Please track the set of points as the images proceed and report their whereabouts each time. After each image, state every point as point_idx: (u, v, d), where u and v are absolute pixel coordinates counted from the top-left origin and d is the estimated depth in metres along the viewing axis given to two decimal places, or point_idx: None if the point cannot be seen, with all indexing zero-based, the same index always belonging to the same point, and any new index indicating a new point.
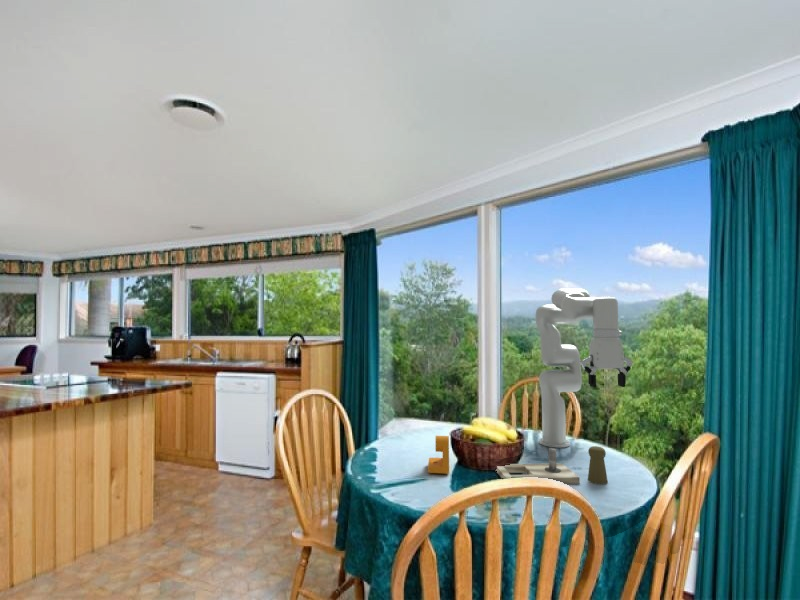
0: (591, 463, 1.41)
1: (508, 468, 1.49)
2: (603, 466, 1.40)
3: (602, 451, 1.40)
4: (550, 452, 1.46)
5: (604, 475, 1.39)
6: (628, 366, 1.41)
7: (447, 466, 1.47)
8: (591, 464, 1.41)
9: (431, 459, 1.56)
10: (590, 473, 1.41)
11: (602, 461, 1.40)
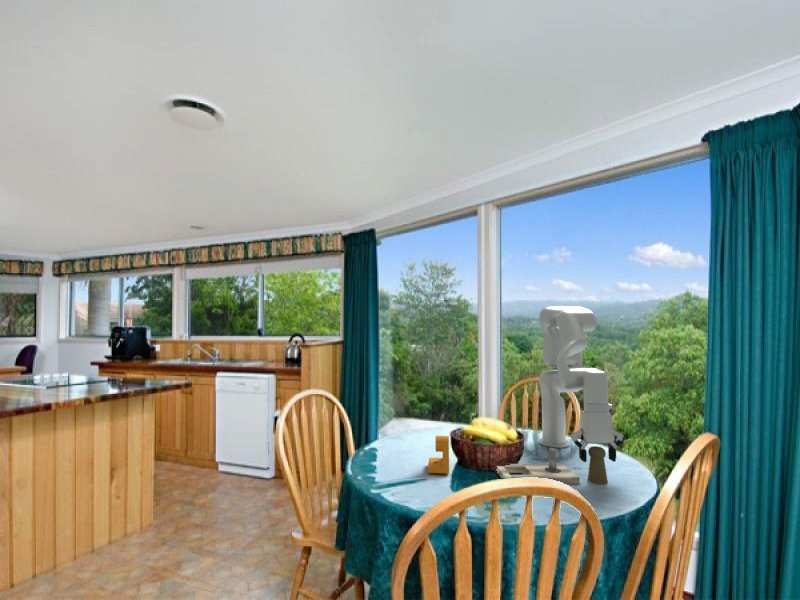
0: (591, 463, 1.41)
1: (508, 468, 1.49)
2: (603, 466, 1.40)
3: (602, 451, 1.40)
4: (550, 452, 1.46)
5: (604, 475, 1.39)
6: (618, 440, 1.42)
7: (447, 466, 1.47)
8: (591, 464, 1.41)
9: (431, 459, 1.56)
10: (590, 473, 1.41)
11: (602, 461, 1.40)
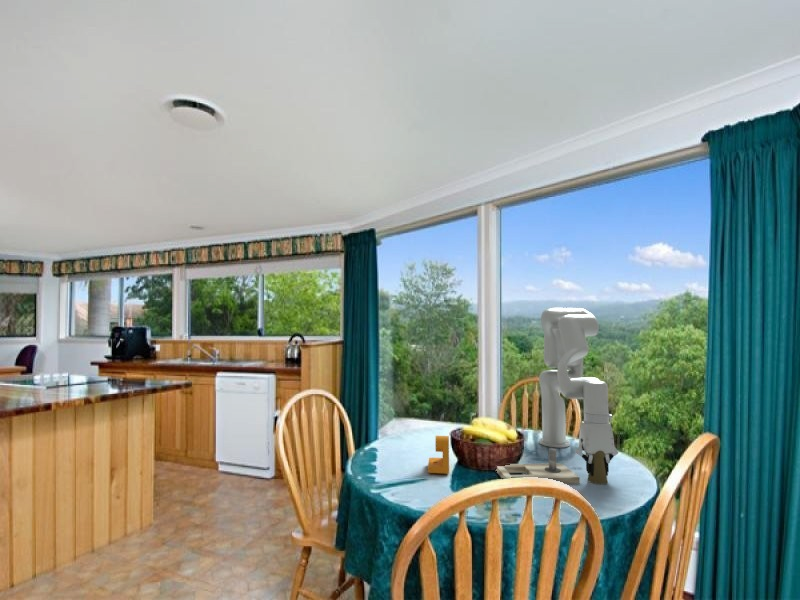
0: None
1: (508, 468, 1.49)
2: (603, 466, 1.40)
3: None
4: (550, 452, 1.46)
5: (604, 475, 1.39)
6: (611, 454, 1.42)
7: (447, 466, 1.47)
8: None
9: (431, 459, 1.56)
10: None
11: (602, 461, 1.40)
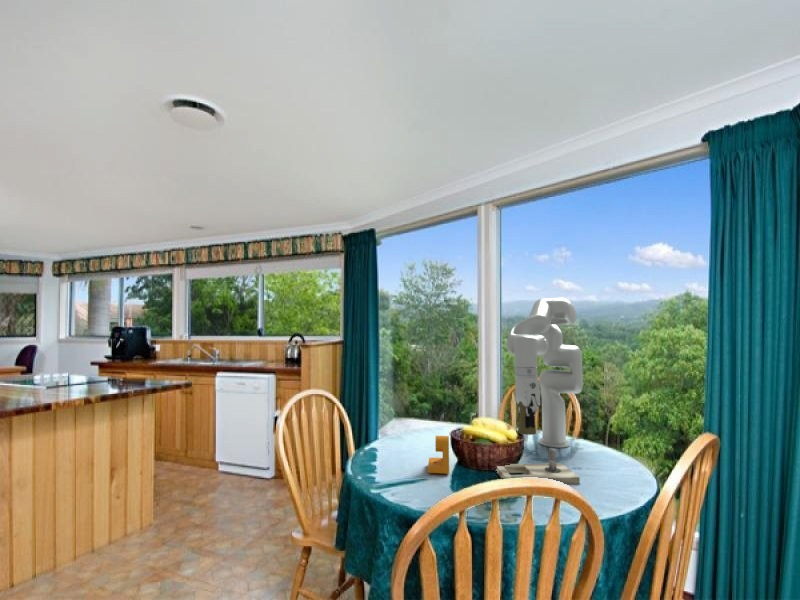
0: None
1: (508, 468, 1.49)
2: (522, 417, 1.45)
3: (521, 402, 1.45)
4: (550, 452, 1.46)
5: (521, 425, 1.45)
6: (530, 409, 1.42)
7: (447, 466, 1.47)
8: None
9: (431, 459, 1.56)
10: None
11: (522, 412, 1.45)
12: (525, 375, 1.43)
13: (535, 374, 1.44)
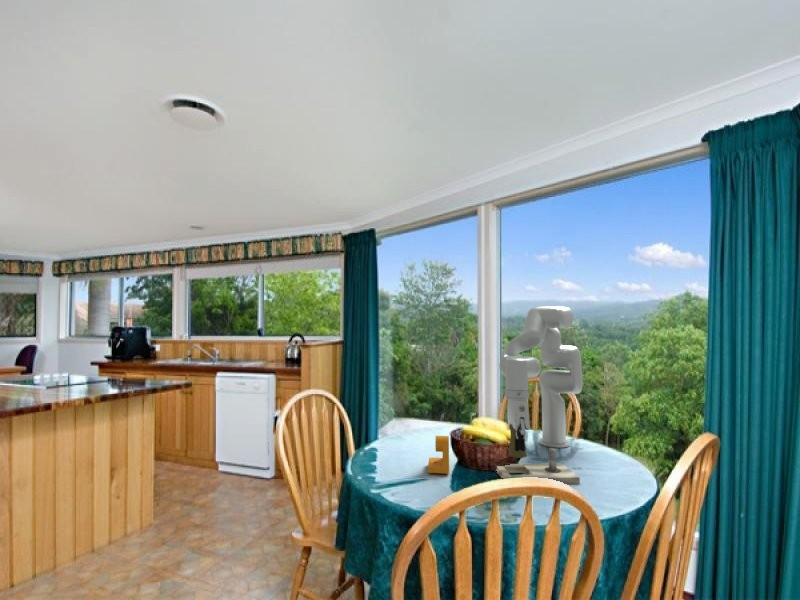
0: None
1: (508, 468, 1.49)
2: (512, 439, 1.45)
3: (511, 424, 1.46)
4: (550, 452, 1.46)
5: (511, 448, 1.45)
6: (519, 432, 1.42)
7: (447, 466, 1.47)
8: None
9: (431, 459, 1.56)
10: None
11: (512, 435, 1.45)
12: (514, 398, 1.44)
13: (525, 397, 1.44)
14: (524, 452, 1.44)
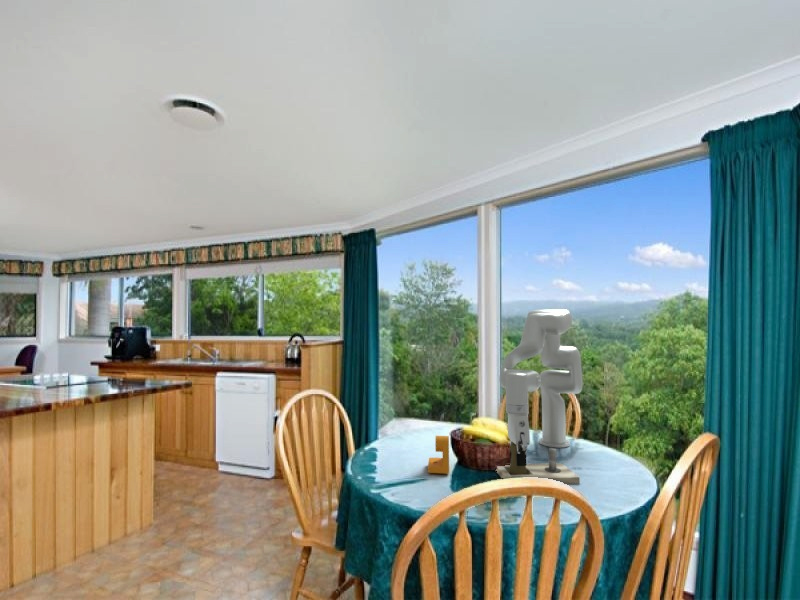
0: None
1: (508, 468, 1.49)
2: (512, 461, 1.45)
3: (512, 446, 1.46)
4: (550, 452, 1.46)
5: (512, 469, 1.45)
6: (521, 447, 1.41)
7: (447, 466, 1.47)
8: None
9: (431, 459, 1.56)
10: None
11: (513, 456, 1.46)
12: (515, 413, 1.43)
13: (525, 412, 1.44)
14: (524, 473, 1.44)
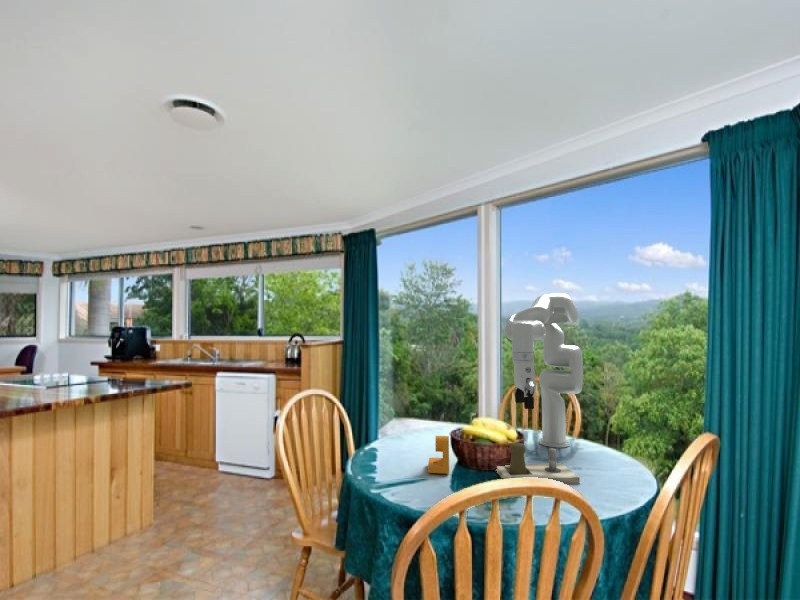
0: None
1: (508, 468, 1.49)
2: (512, 461, 1.45)
3: (512, 446, 1.46)
4: (550, 452, 1.46)
5: (511, 469, 1.45)
6: (528, 390, 1.44)
7: (447, 466, 1.47)
8: None
9: (431, 459, 1.56)
10: None
11: (512, 456, 1.46)
12: (521, 360, 1.48)
13: (531, 359, 1.48)
14: (524, 473, 1.44)
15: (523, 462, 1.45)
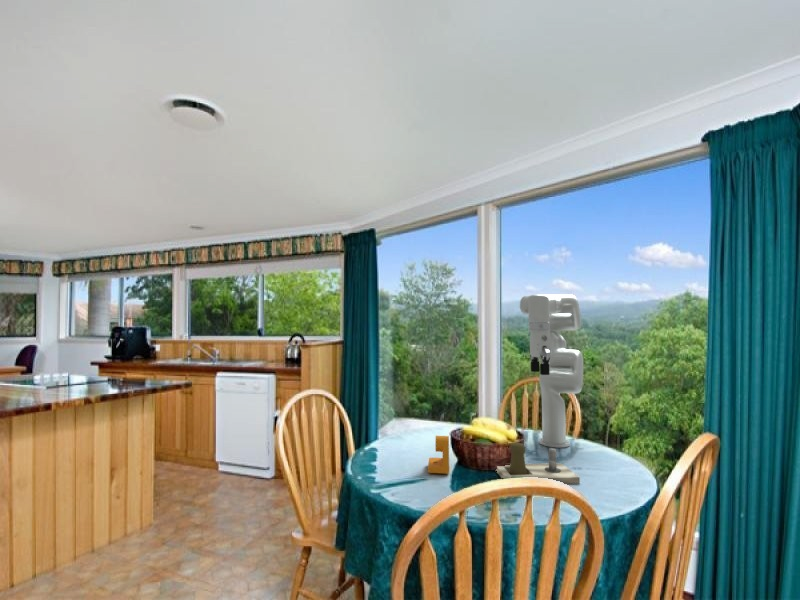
0: None
1: (508, 468, 1.49)
2: (512, 461, 1.45)
3: (512, 446, 1.46)
4: (550, 452, 1.46)
5: (512, 469, 1.45)
6: (544, 356, 1.54)
7: (447, 466, 1.47)
8: None
9: (431, 459, 1.56)
10: None
11: (512, 456, 1.46)
12: (537, 329, 1.58)
13: (547, 328, 1.58)
14: (524, 473, 1.44)
15: (523, 462, 1.45)
